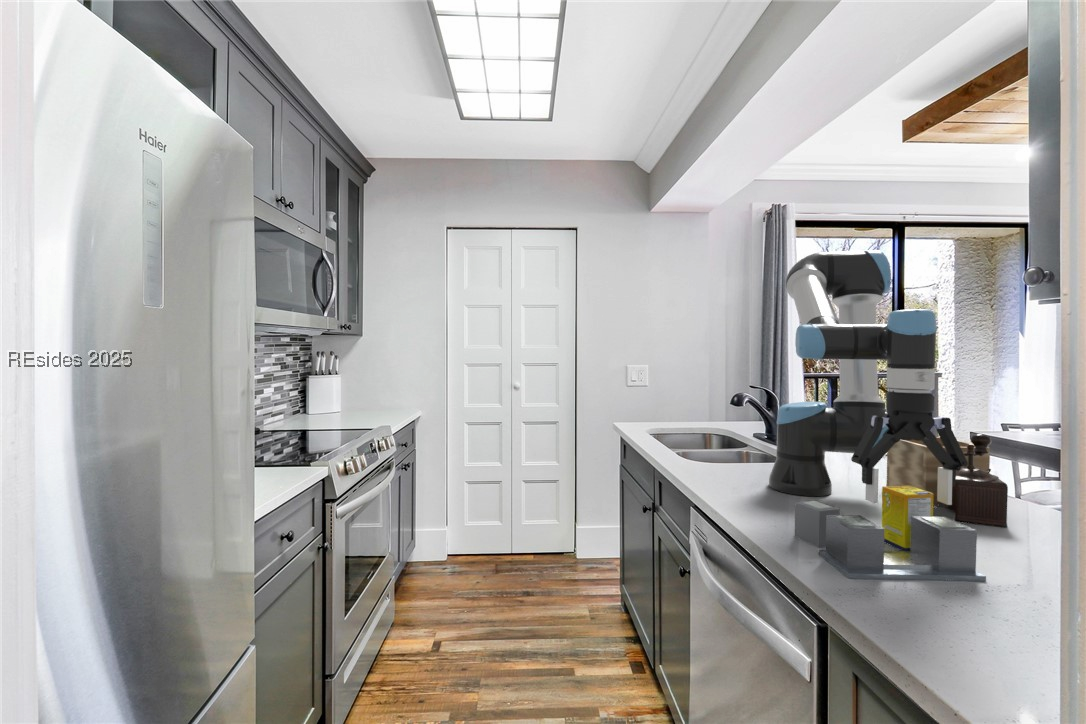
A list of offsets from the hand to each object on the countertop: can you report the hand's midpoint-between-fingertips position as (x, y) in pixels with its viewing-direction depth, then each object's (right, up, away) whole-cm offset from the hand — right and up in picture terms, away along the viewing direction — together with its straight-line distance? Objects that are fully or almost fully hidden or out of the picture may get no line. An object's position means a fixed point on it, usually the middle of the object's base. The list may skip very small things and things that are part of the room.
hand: (907, 502), depth 99 cm
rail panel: (-8, -9, -9) cm, 15 cm away
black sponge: (+11, -9, +9) cm, 17 cm away
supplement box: (0, -9, +1) cm, 9 cm away
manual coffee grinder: (+28, -8, +20) cm, 35 cm away
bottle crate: (+31, -8, +35) cm, 47 cm away
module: (-16, -8, +3) cm, 18 cm away
